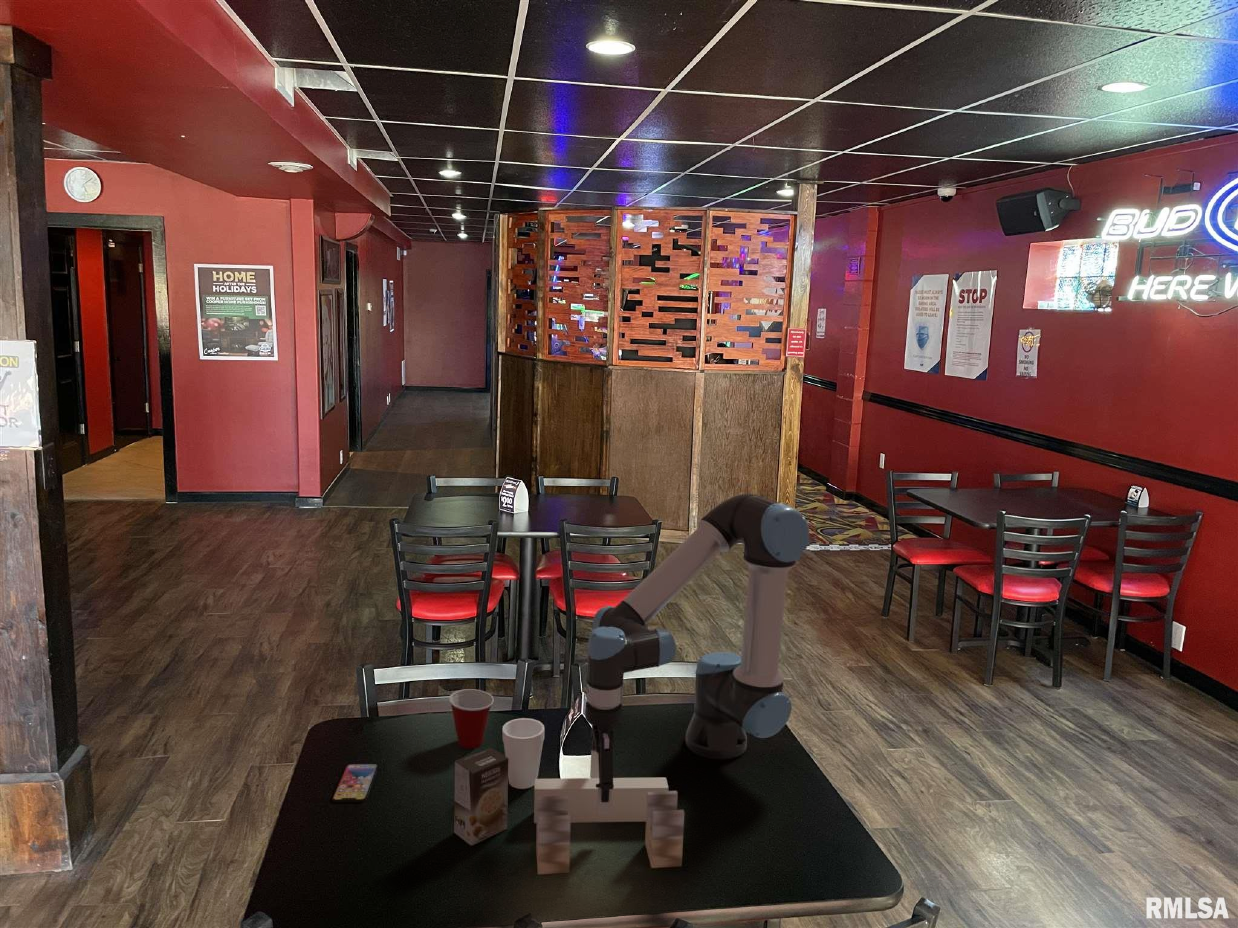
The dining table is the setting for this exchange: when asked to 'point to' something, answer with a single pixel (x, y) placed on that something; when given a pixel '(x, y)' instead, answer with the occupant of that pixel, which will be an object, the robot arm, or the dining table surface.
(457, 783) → the coffee box
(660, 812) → the brackets
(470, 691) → the plastic cup
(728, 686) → the robot arm
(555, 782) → the rail
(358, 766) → the smartphone
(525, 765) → the foam cup
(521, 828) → the dining table surface
